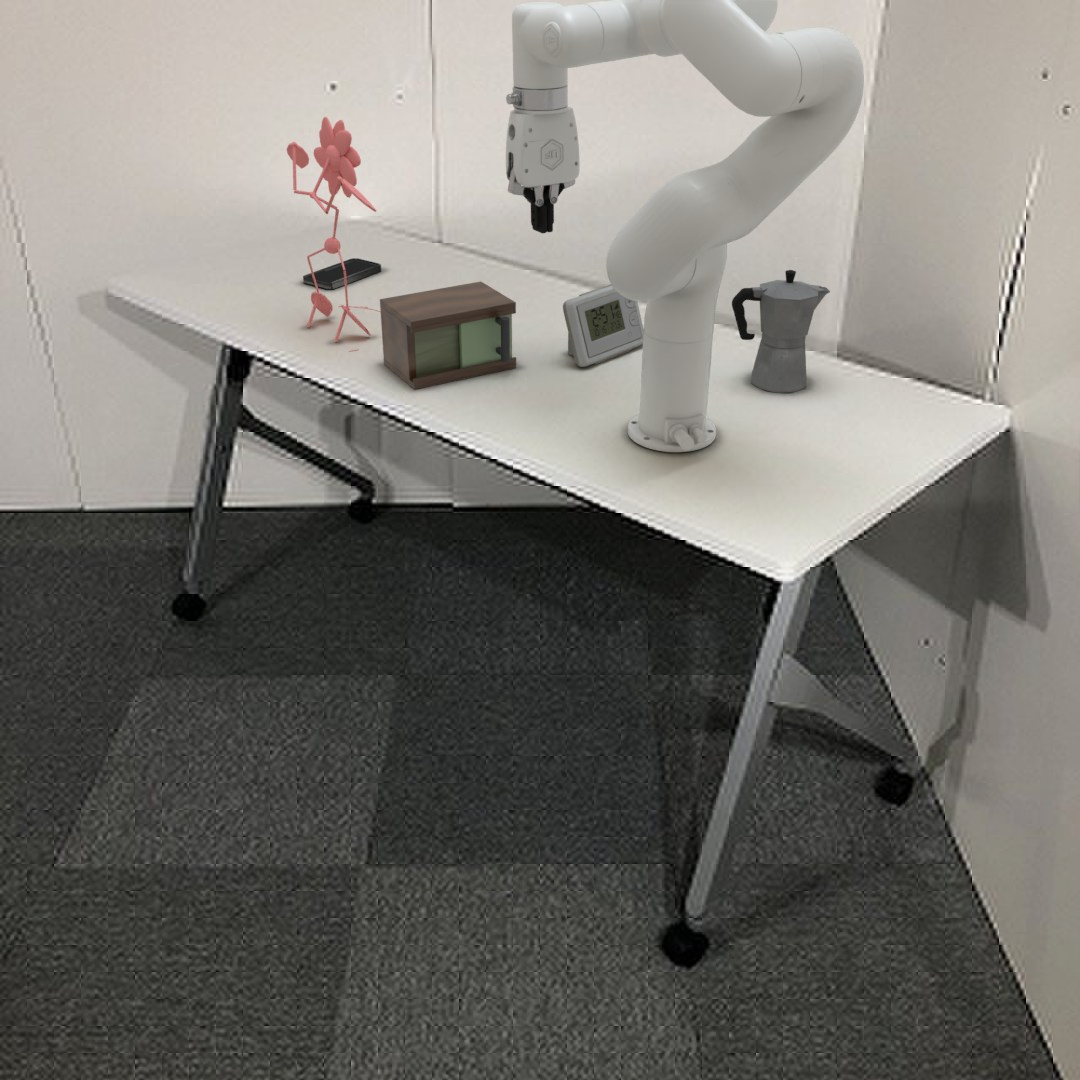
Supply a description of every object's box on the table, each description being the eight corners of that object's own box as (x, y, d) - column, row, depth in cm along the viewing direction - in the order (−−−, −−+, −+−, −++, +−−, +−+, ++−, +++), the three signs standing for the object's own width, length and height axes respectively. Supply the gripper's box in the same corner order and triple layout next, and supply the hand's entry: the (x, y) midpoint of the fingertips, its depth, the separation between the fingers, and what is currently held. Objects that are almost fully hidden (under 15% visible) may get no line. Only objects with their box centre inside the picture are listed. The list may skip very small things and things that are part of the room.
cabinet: (516, 367, 193) (515, 302, 188) (414, 389, 185) (411, 321, 180) (482, 344, 202) (480, 281, 196) (383, 364, 194) (379, 299, 189)
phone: (383, 264, 235) (329, 284, 225) (383, 270, 236) (330, 290, 225) (353, 257, 239) (299, 276, 229) (354, 262, 240) (300, 282, 229)
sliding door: (522, 366, 191) (521, 315, 186) (471, 376, 187) (470, 325, 182) (510, 357, 194) (509, 308, 189) (460, 368, 190) (458, 317, 185)
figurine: (357, 358, 196) (340, 138, 179) (279, 316, 213) (257, 111, 196) (434, 337, 205) (425, 125, 187) (353, 298, 222) (338, 100, 204)
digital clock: (578, 372, 192) (579, 308, 186) (547, 354, 198) (547, 292, 193) (658, 351, 200) (661, 289, 194) (625, 335, 206) (627, 275, 201)
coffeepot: (806, 367, 194) (820, 258, 185) (829, 390, 186) (844, 277, 177) (715, 374, 191) (724, 263, 182) (734, 397, 183) (745, 283, 174)
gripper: (507, 108, 161) (511, 244, 170) (600, 97, 167) (599, 228, 176) (480, 101, 166) (485, 232, 175) (571, 90, 173) (571, 218, 182)
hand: (542, 230), depth 176 cm, fingers closed
